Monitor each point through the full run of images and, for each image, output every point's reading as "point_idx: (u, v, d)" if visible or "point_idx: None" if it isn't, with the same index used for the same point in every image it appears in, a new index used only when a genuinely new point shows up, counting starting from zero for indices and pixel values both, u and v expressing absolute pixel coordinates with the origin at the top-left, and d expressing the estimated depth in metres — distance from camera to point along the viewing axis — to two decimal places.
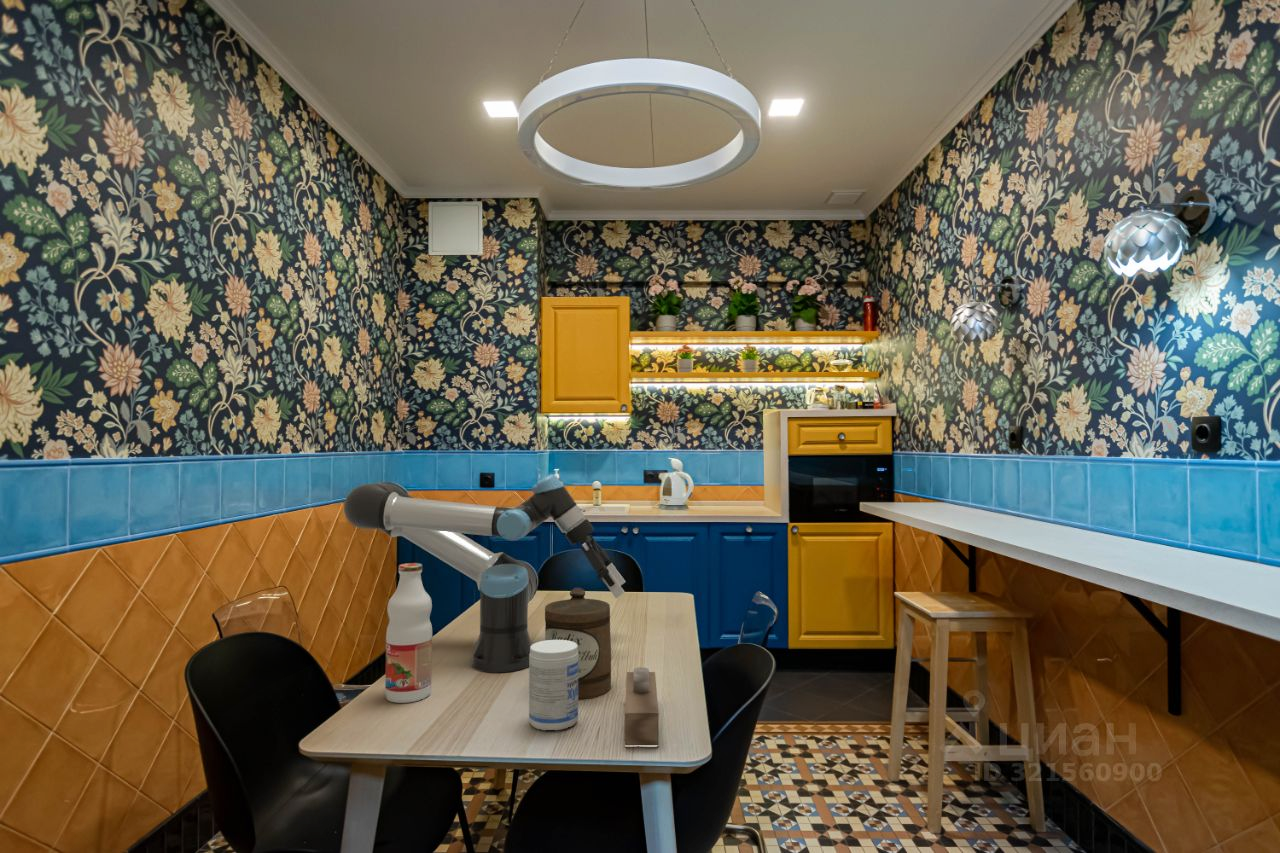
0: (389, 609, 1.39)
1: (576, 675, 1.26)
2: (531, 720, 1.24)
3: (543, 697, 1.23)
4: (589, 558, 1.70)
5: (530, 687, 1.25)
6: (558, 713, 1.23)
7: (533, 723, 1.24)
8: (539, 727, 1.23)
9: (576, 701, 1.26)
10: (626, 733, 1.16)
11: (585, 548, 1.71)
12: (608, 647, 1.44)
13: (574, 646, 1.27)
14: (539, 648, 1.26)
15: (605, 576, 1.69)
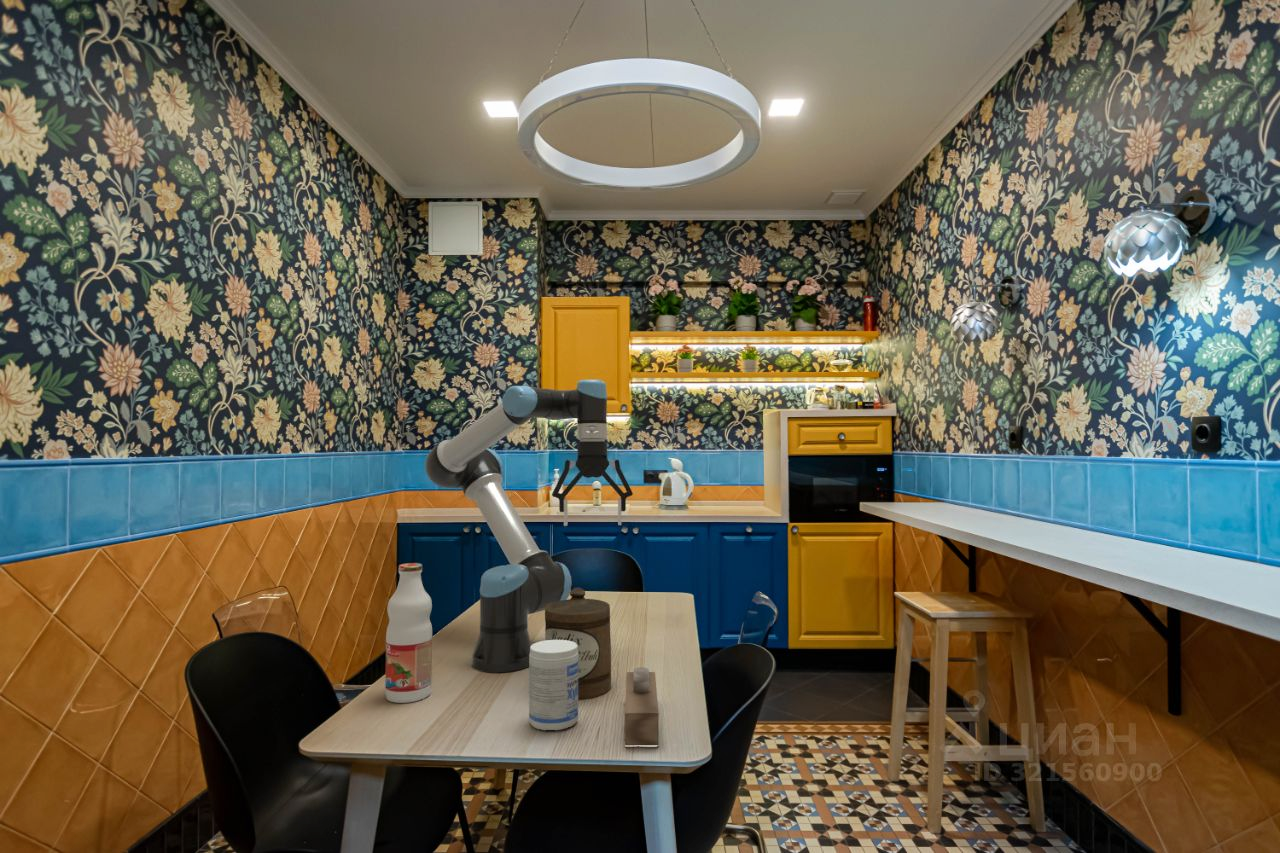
0: (389, 609, 1.39)
1: (576, 675, 1.26)
2: (531, 720, 1.24)
3: (543, 697, 1.23)
4: None
5: (530, 687, 1.25)
6: (558, 713, 1.23)
7: (533, 723, 1.24)
8: (539, 727, 1.23)
9: (576, 701, 1.26)
10: (626, 733, 1.16)
11: None
12: (608, 647, 1.44)
13: (574, 646, 1.27)
14: (539, 648, 1.26)
15: (559, 499, 1.65)
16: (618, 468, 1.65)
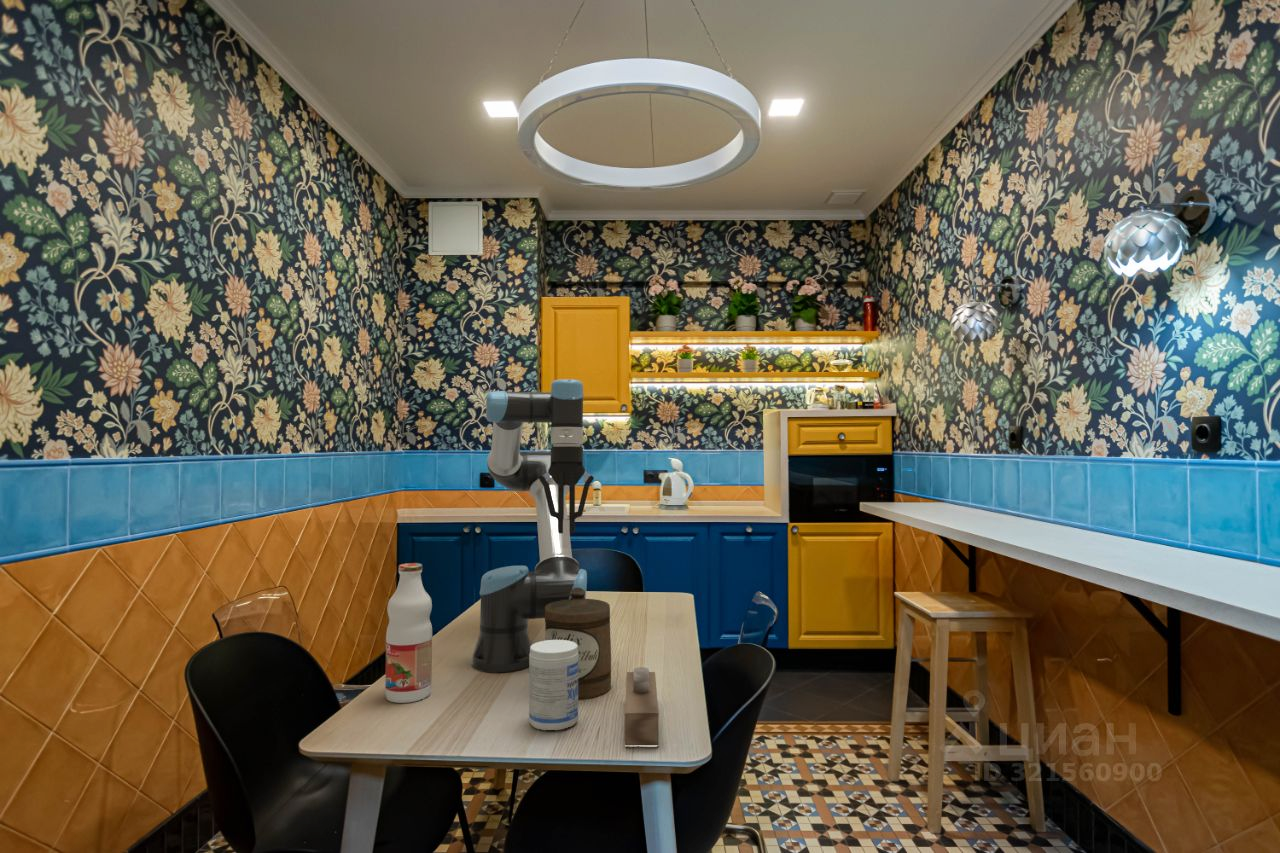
0: (389, 609, 1.39)
1: (576, 675, 1.26)
2: (531, 720, 1.24)
3: (543, 697, 1.23)
4: None
5: (530, 687, 1.25)
6: (558, 713, 1.23)
7: (533, 723, 1.24)
8: (539, 727, 1.23)
9: (576, 701, 1.26)
10: (626, 733, 1.16)
11: None
12: (608, 647, 1.44)
13: (574, 646, 1.27)
14: (539, 648, 1.26)
15: (558, 519, 1.52)
16: (587, 484, 1.52)
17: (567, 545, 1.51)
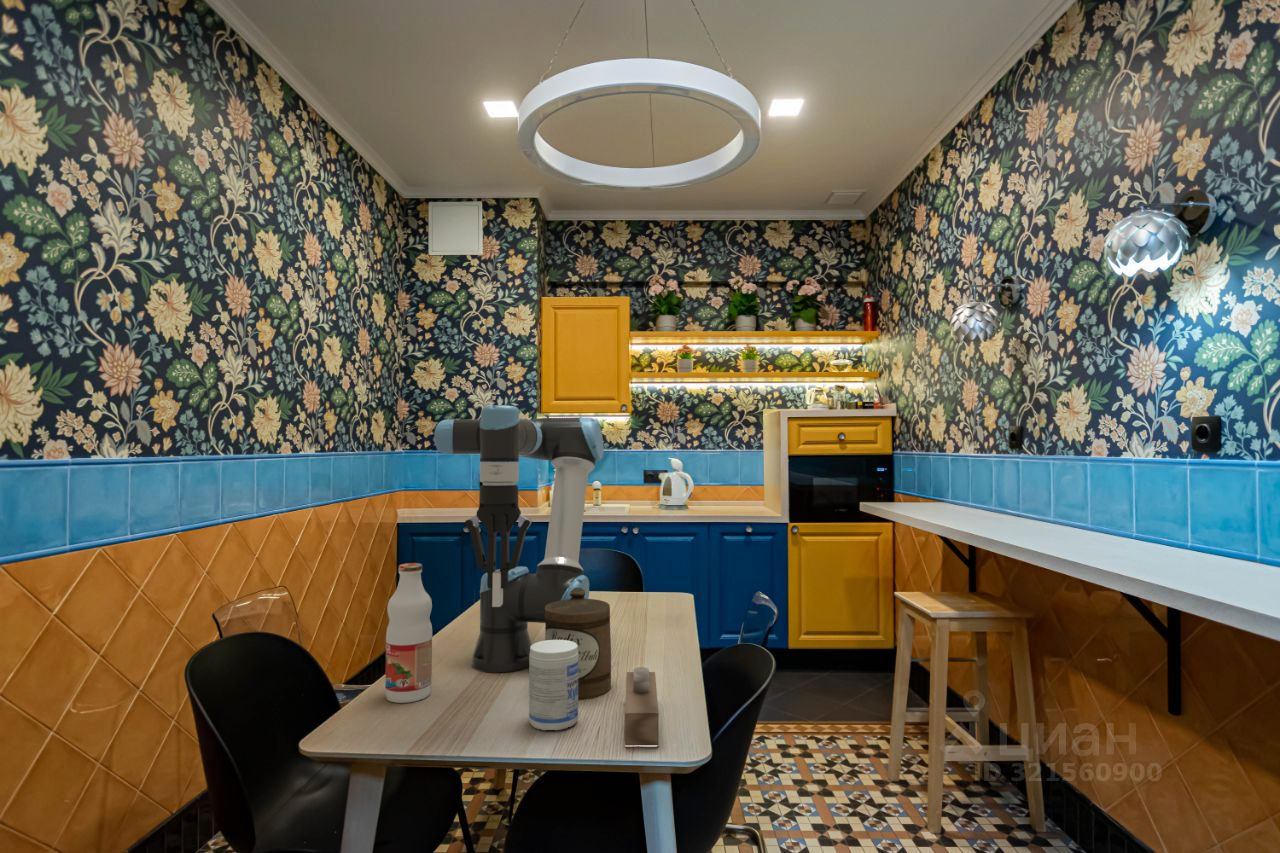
0: (389, 609, 1.39)
1: (576, 675, 1.26)
2: (531, 720, 1.24)
3: (543, 697, 1.23)
4: None
5: (530, 687, 1.25)
6: (558, 713, 1.23)
7: (533, 723, 1.24)
8: (539, 727, 1.23)
9: (576, 701, 1.26)
10: (626, 733, 1.16)
11: None
12: (608, 647, 1.44)
13: (574, 646, 1.27)
14: (539, 648, 1.26)
15: None
16: (522, 530, 1.27)
17: (497, 603, 1.26)
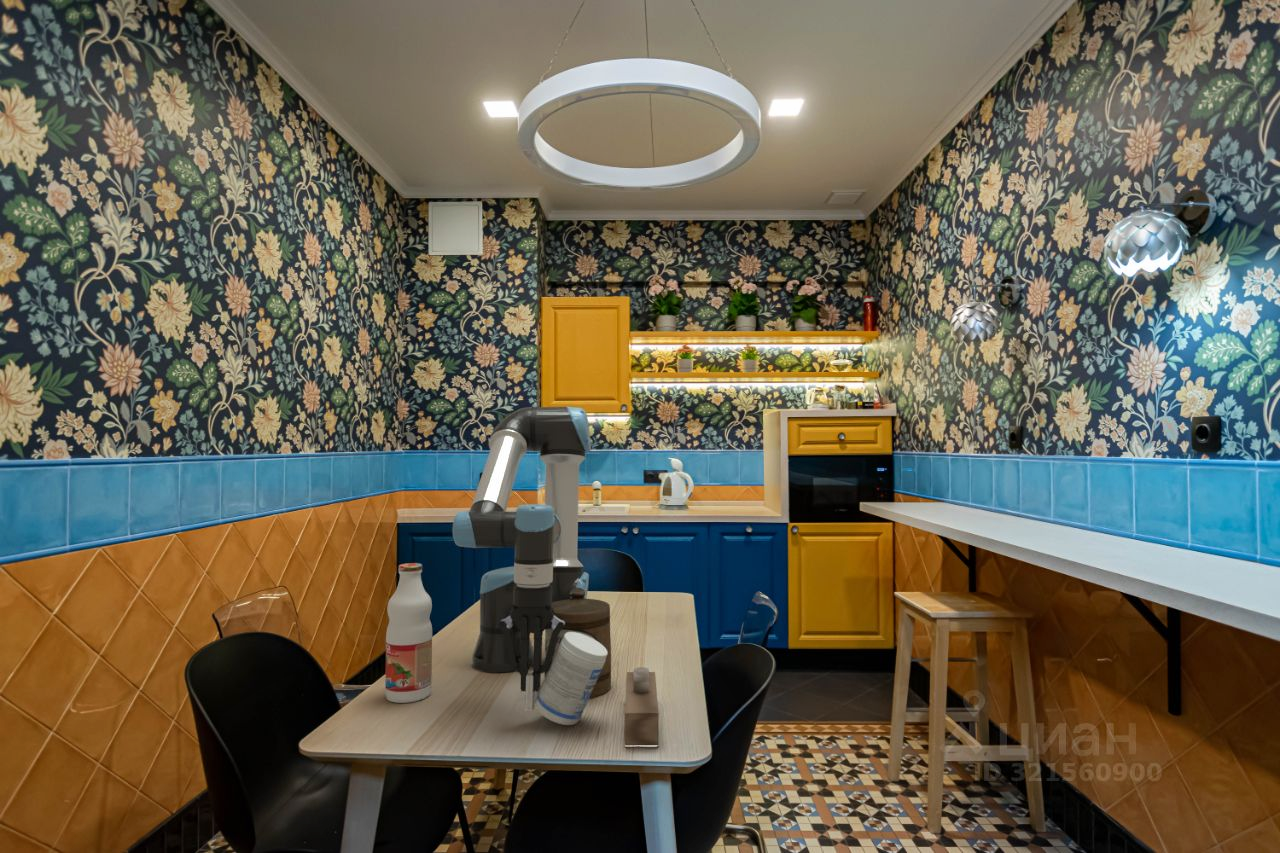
0: (389, 609, 1.39)
1: (596, 680, 1.26)
2: (538, 703, 1.24)
3: (560, 689, 1.23)
4: None
5: (550, 672, 1.25)
6: (567, 709, 1.23)
7: (539, 707, 1.24)
8: (544, 714, 1.23)
9: (585, 703, 1.26)
10: (626, 733, 1.16)
11: None
12: (608, 647, 1.44)
13: (605, 652, 1.27)
14: (573, 640, 1.26)
15: None
16: (556, 633, 1.26)
17: (529, 707, 1.25)
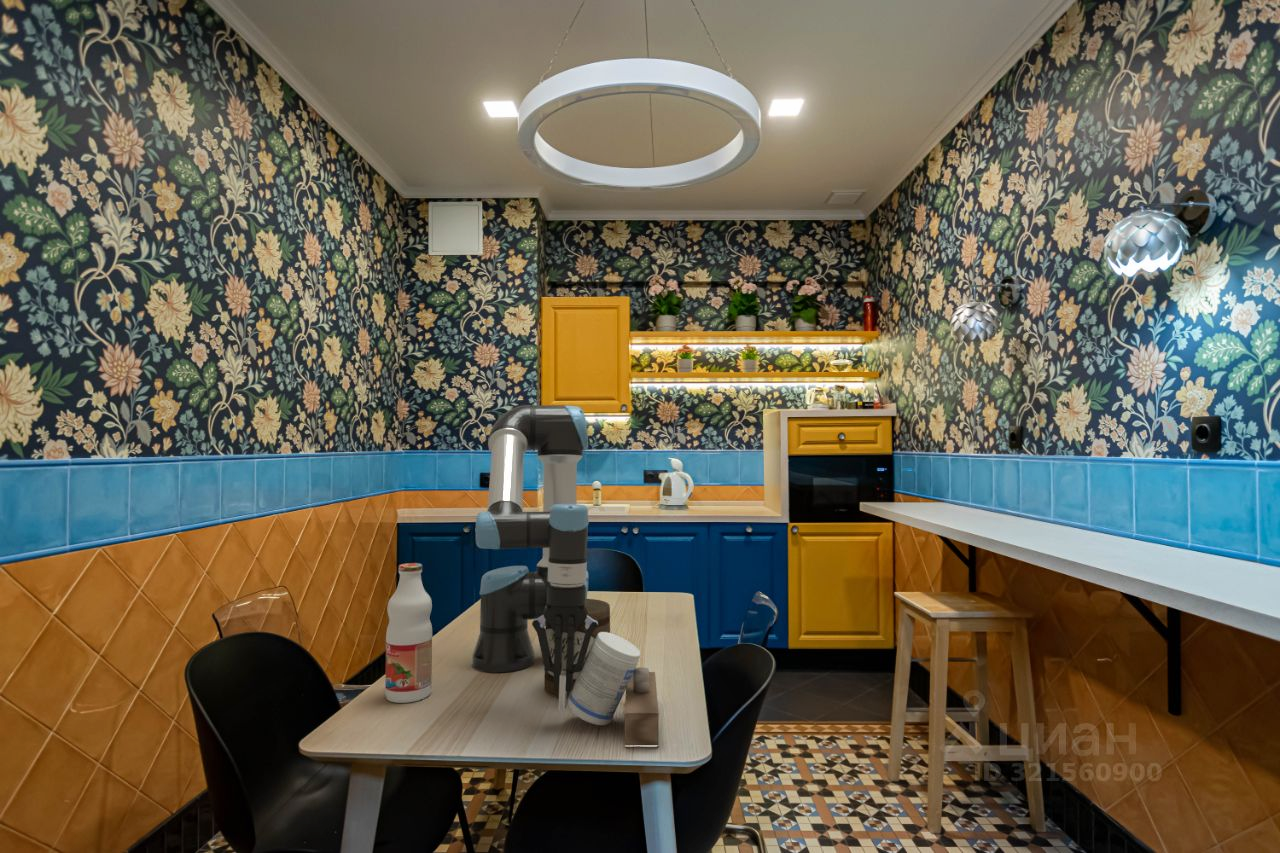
0: (389, 609, 1.39)
1: (629, 680, 1.26)
2: (571, 703, 1.24)
3: (594, 689, 1.22)
4: None
5: (583, 672, 1.25)
6: (601, 710, 1.22)
7: (572, 707, 1.24)
8: (577, 713, 1.23)
9: (618, 704, 1.26)
10: (626, 733, 1.16)
11: None
12: None
13: (638, 653, 1.27)
14: (607, 640, 1.26)
15: None
16: (589, 633, 1.26)
17: (562, 706, 1.25)
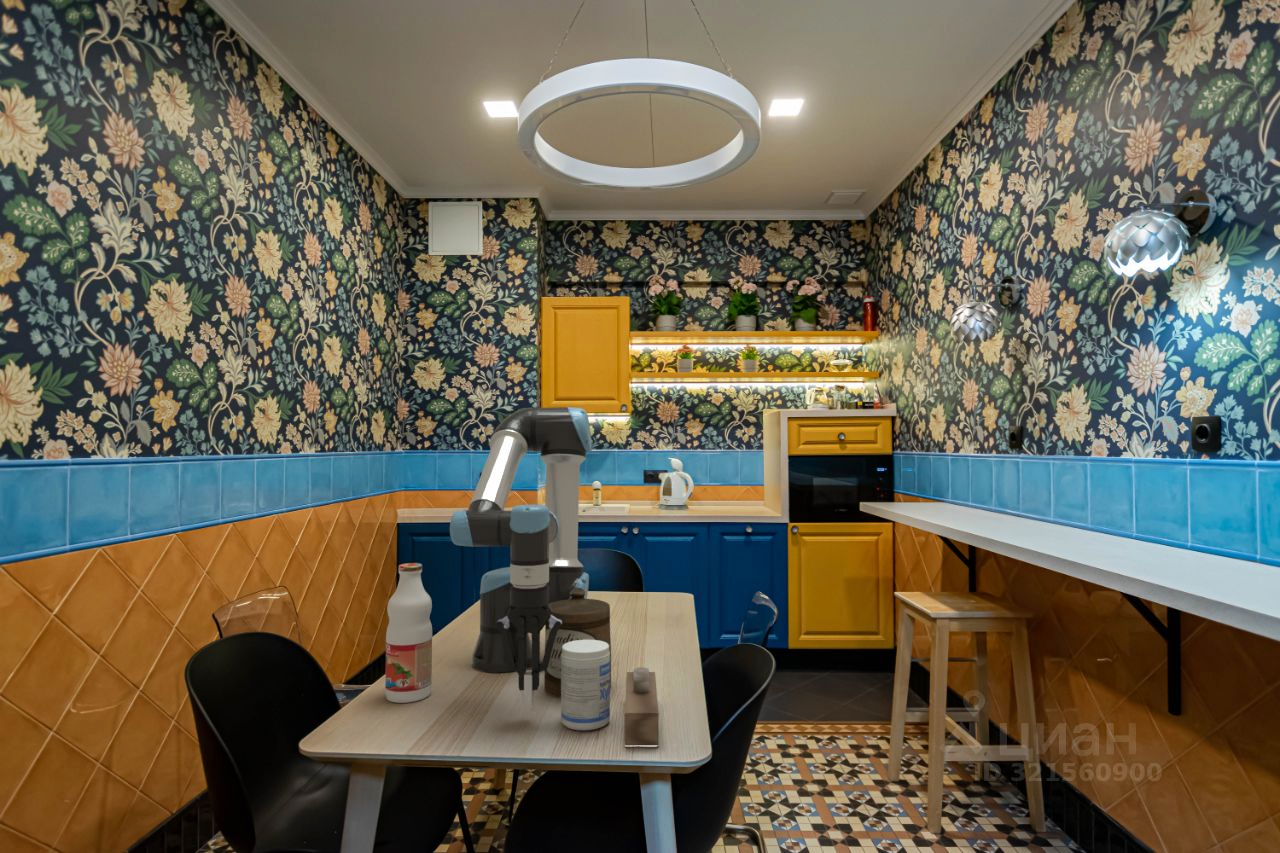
0: (389, 609, 1.39)
1: (608, 675, 1.26)
2: (563, 720, 1.25)
3: (576, 697, 1.23)
4: None
5: (562, 687, 1.25)
6: (591, 713, 1.23)
7: (565, 723, 1.24)
8: (572, 727, 1.23)
9: (608, 701, 1.26)
10: (626, 733, 1.16)
11: None
12: None
13: (606, 646, 1.27)
14: (571, 647, 1.26)
15: None
16: (553, 632, 1.27)
17: (529, 705, 1.26)
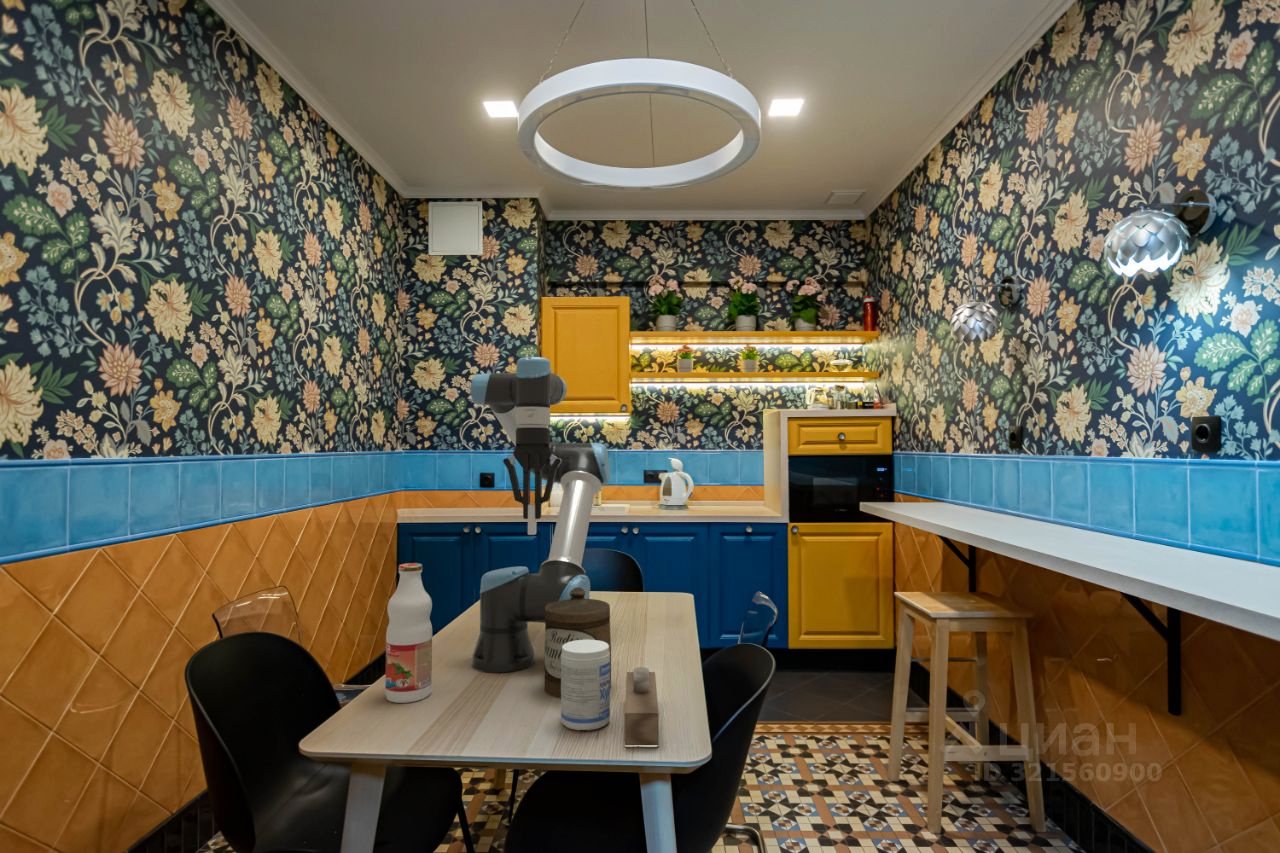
0: (389, 609, 1.39)
1: (608, 675, 1.26)
2: (563, 720, 1.25)
3: (576, 697, 1.23)
4: None
5: (562, 687, 1.25)
6: (591, 713, 1.23)
7: (565, 723, 1.24)
8: (572, 727, 1.23)
9: (608, 701, 1.26)
10: (626, 733, 1.16)
11: None
12: None
13: (606, 646, 1.27)
14: (571, 648, 1.26)
15: None
16: (554, 467, 1.44)
17: (532, 531, 1.43)
